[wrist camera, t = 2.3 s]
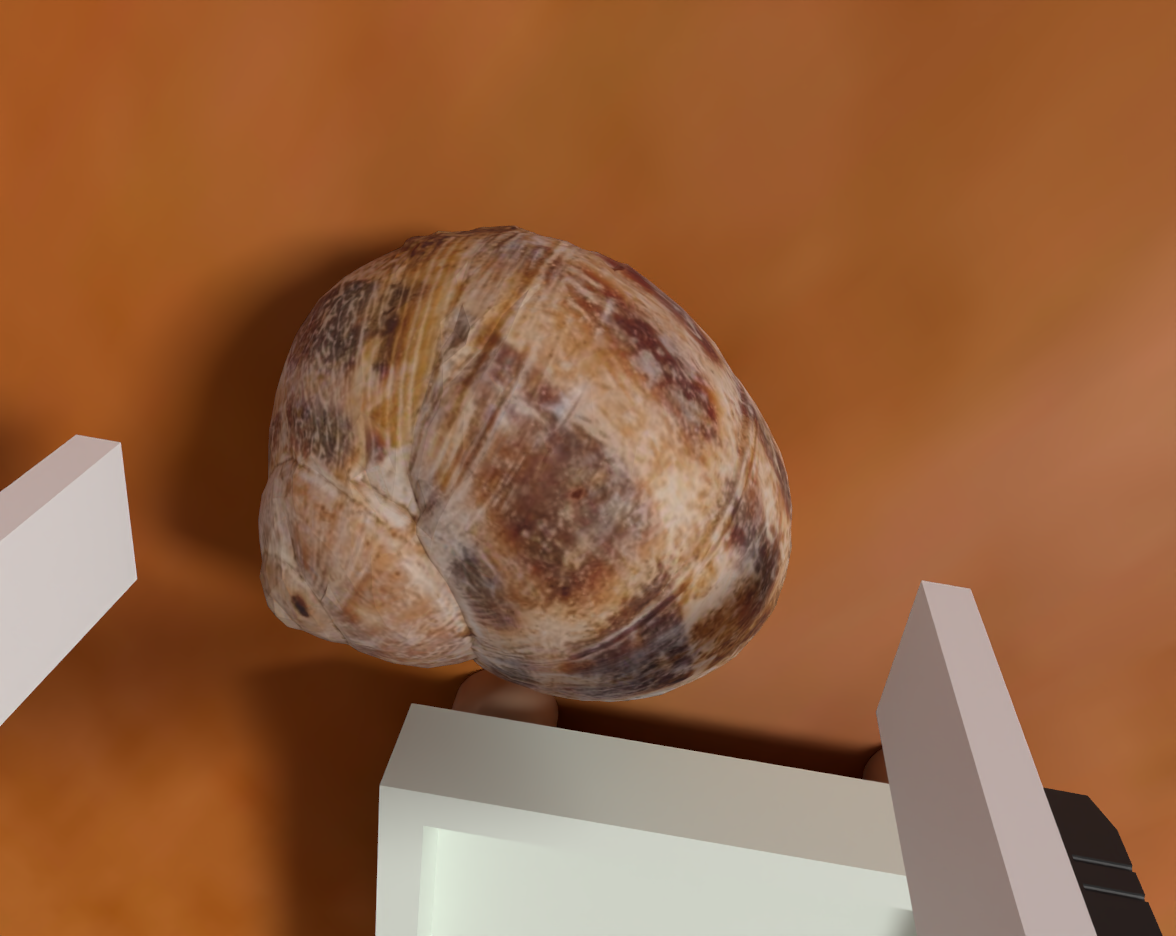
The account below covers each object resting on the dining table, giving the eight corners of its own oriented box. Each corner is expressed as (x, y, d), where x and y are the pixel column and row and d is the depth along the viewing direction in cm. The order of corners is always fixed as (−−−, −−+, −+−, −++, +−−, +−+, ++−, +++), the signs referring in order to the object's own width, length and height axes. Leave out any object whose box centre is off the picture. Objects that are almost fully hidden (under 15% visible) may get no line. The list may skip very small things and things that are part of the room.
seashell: (347, 649, 25) (135, 726, 15) (379, 299, 26) (194, 154, 16) (763, 688, 24) (825, 797, 14) (788, 324, 25) (865, 185, 15)
